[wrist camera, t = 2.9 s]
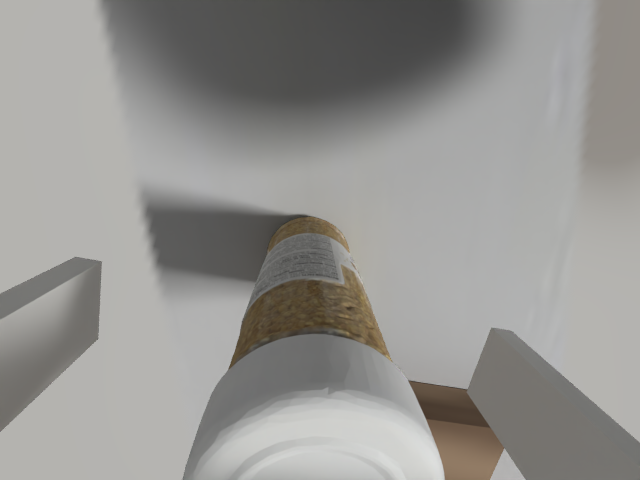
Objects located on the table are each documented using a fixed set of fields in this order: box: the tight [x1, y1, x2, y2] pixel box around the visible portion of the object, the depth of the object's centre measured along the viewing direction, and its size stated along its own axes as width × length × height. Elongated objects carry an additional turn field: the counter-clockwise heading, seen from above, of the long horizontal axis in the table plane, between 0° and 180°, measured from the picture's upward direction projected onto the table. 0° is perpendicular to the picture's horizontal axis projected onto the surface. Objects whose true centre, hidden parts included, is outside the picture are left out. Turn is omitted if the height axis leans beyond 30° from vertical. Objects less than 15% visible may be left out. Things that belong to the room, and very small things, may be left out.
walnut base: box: [408, 381, 504, 480], centre depth 21 cm, size 12×12×3 cm
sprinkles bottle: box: [183, 217, 445, 480], centre depth 12 cm, size 5×5×13 cm
